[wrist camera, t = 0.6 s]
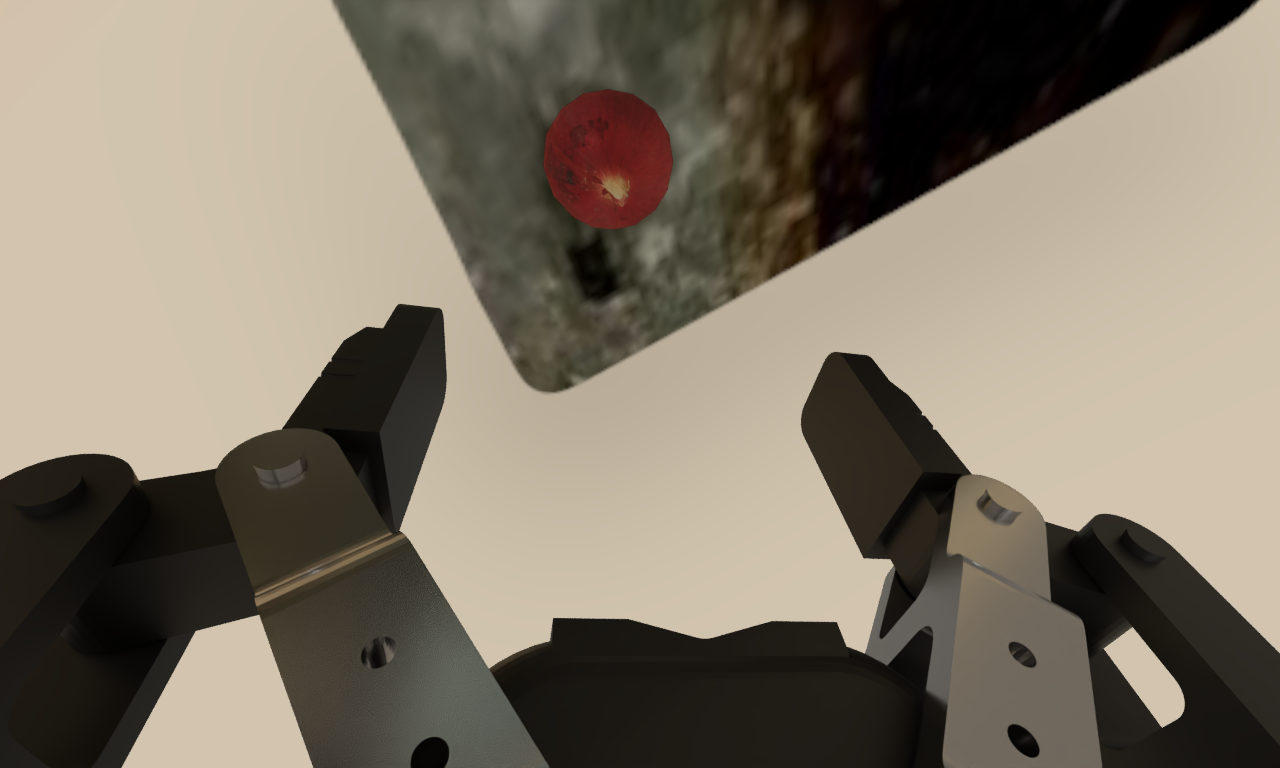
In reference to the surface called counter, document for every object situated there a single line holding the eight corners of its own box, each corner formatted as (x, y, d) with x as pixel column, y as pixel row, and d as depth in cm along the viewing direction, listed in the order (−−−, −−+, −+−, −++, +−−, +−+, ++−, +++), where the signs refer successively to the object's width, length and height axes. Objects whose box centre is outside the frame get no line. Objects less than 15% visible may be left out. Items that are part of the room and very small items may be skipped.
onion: (544, 190, 28) (532, 249, 22) (554, 67, 25) (543, 94, 18) (650, 207, 29) (668, 269, 23) (673, 91, 26) (702, 125, 19)
